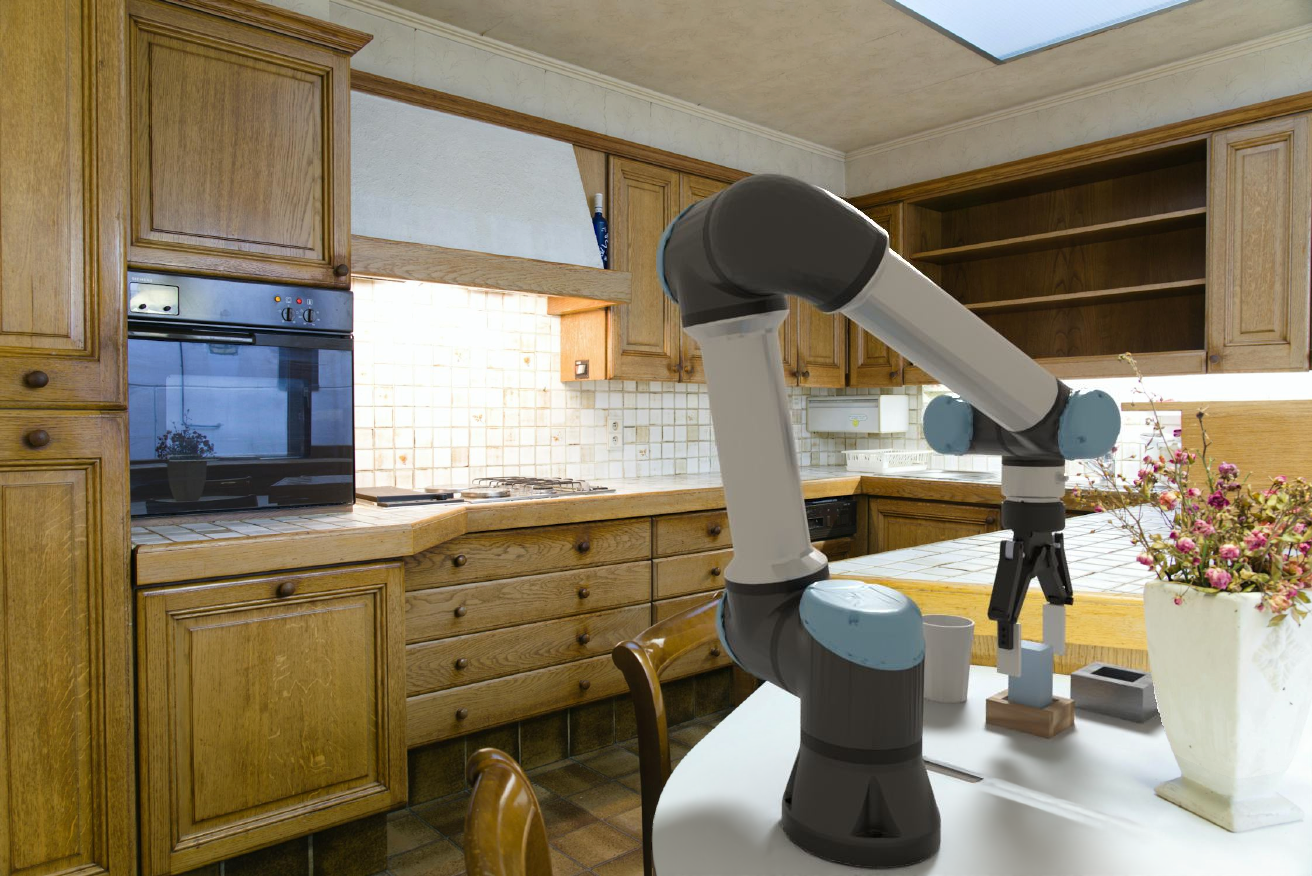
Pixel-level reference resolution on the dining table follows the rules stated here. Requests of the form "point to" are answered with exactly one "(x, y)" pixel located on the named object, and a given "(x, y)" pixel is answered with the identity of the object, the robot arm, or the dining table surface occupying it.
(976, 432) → the robot arm
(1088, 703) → the port
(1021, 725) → the tan square frame
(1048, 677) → the plug
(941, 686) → the cup
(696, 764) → the dining table surface
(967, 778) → the smartphone
